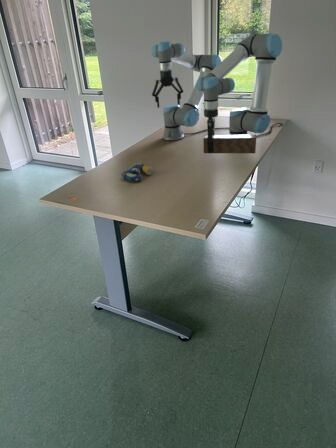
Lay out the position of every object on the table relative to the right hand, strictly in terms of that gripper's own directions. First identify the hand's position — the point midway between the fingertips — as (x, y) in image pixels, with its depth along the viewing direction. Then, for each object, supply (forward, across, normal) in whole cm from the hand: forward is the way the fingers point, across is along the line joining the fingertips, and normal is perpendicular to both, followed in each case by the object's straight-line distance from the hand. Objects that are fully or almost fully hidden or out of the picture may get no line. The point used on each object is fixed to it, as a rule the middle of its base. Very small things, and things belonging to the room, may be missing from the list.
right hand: (211, 150), depth 190 cm
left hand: (-18, -34, -31) cm, 49 cm away
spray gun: (+10, +15, -40) cm, 44 cm away
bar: (+1, 0, +10) cm, 10 cm away
